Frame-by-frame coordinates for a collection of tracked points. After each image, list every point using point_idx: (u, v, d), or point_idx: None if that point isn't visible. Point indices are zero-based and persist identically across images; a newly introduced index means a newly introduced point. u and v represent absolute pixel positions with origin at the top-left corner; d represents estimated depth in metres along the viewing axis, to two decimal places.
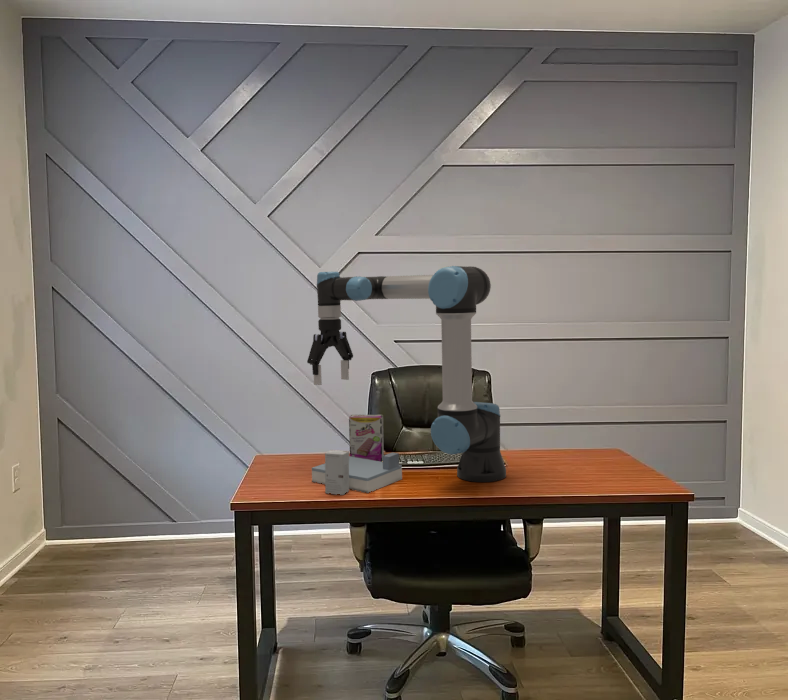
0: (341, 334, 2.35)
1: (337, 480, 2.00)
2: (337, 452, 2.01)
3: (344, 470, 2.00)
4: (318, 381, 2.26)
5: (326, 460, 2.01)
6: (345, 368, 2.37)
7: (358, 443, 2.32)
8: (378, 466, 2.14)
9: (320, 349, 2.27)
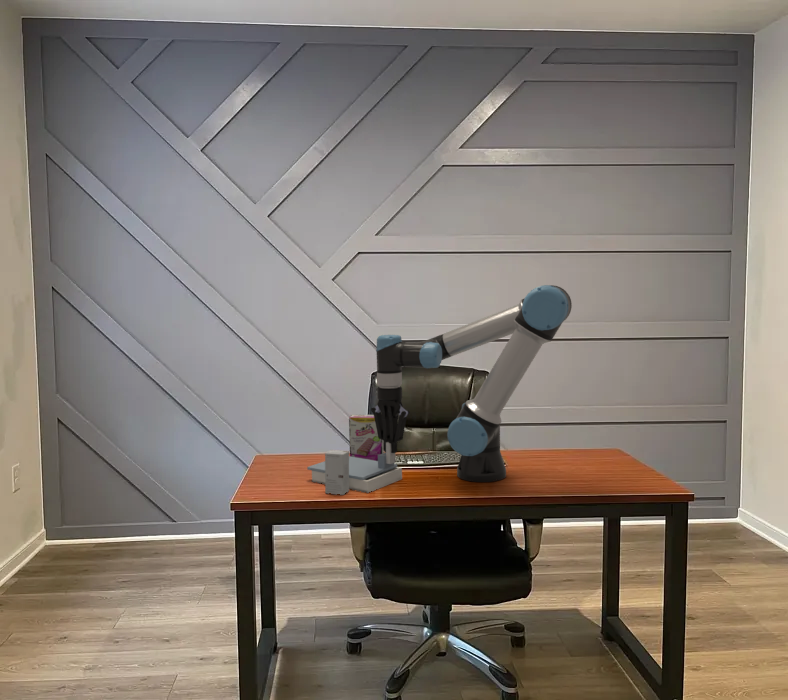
0: (401, 411, 2.07)
1: (337, 480, 2.00)
2: (337, 452, 2.01)
3: (344, 470, 2.00)
4: None
5: (326, 460, 2.01)
6: None
7: (358, 443, 2.32)
8: (373, 465, 2.15)
9: None
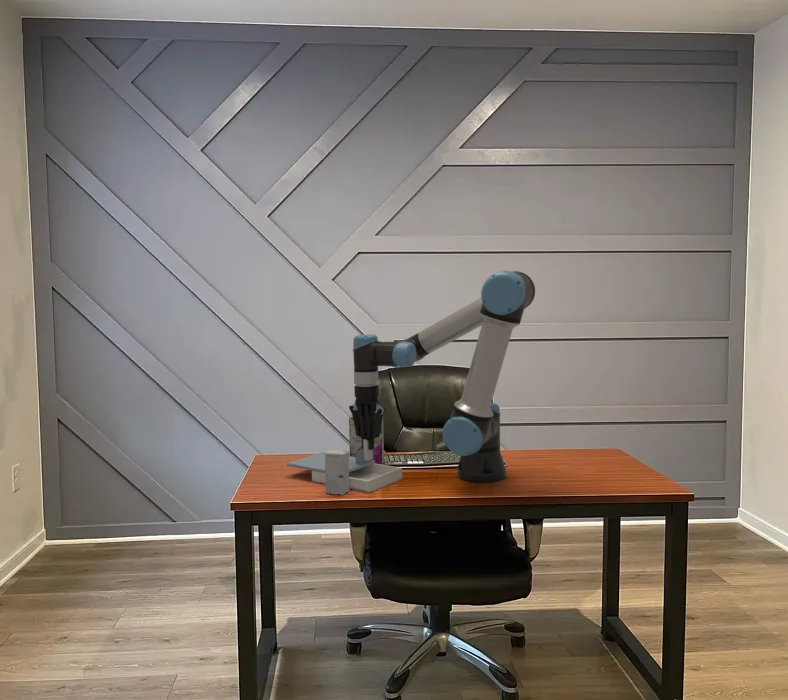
0: (378, 408, 2.12)
1: (337, 480, 2.00)
2: (337, 452, 2.01)
3: (344, 470, 2.00)
4: None
5: (326, 460, 2.01)
6: None
7: (358, 443, 2.32)
8: (351, 461, 2.20)
9: None
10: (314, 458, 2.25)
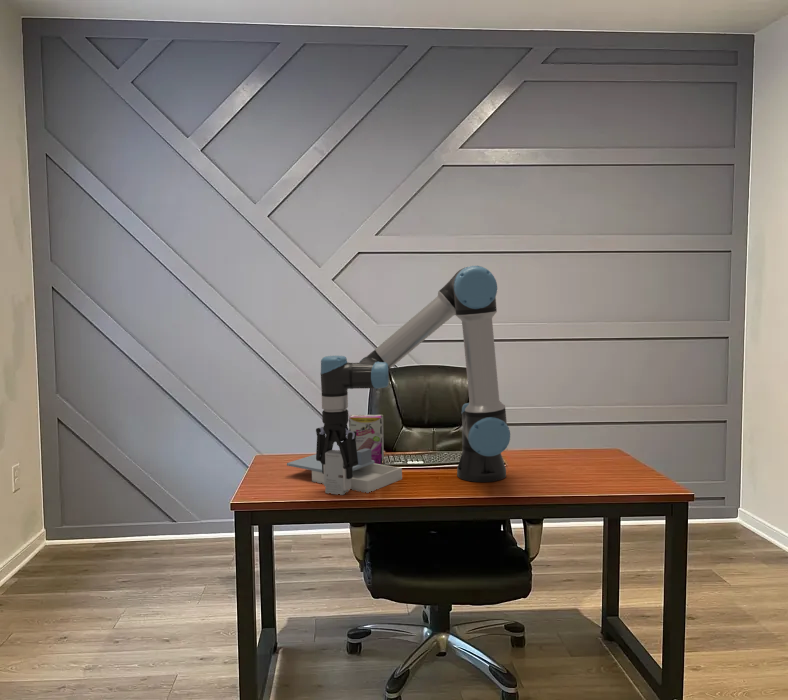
0: None
1: (337, 480, 2.00)
2: (337, 452, 2.01)
3: None
4: None
5: (326, 460, 2.01)
6: None
7: (358, 443, 2.32)
8: None
9: None
10: (314, 458, 2.25)
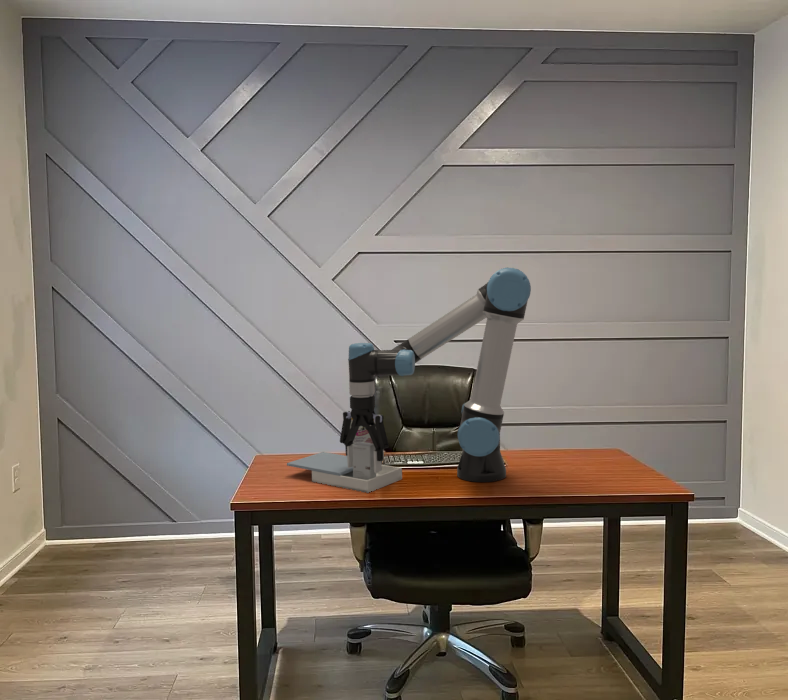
0: None
1: (364, 471, 2.06)
2: (364, 444, 2.07)
3: (371, 462, 2.06)
4: None
5: (353, 452, 2.07)
6: None
7: None
8: None
9: None
10: (314, 458, 2.25)
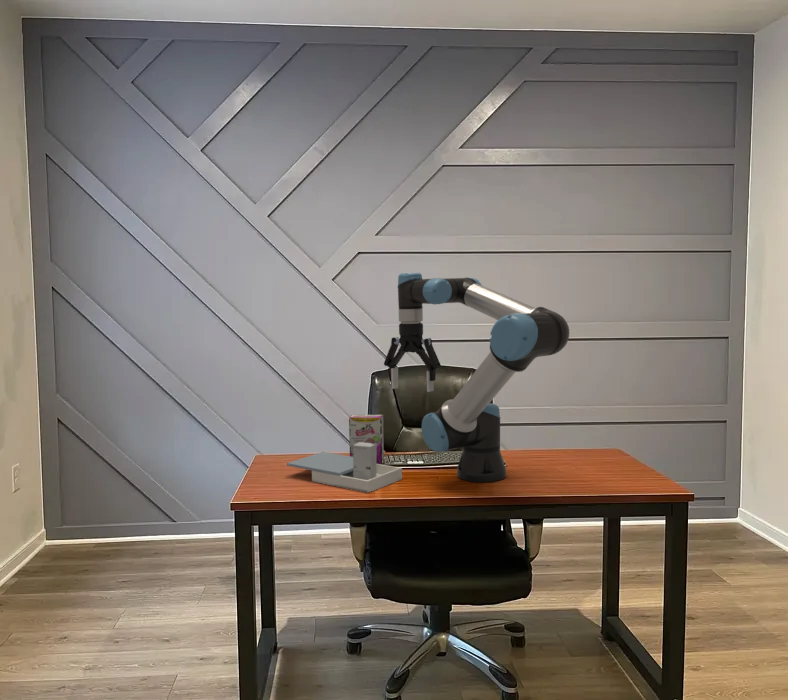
0: (424, 341, 2.14)
1: (365, 471, 2.06)
2: (365, 444, 2.07)
3: (372, 462, 2.06)
4: None
5: (354, 452, 2.07)
6: None
7: None
8: (351, 461, 2.20)
9: None
10: (314, 458, 2.25)
